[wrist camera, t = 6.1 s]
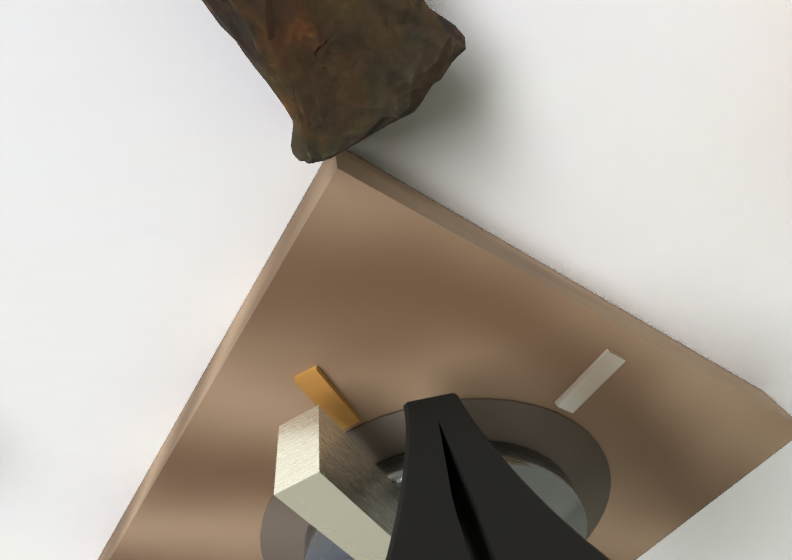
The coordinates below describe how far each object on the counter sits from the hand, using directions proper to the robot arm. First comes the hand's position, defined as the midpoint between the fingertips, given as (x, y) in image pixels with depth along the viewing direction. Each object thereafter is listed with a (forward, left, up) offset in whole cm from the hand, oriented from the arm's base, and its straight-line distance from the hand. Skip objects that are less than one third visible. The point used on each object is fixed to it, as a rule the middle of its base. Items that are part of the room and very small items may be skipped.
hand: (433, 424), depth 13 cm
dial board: (-6, -5, -4) cm, 8 cm away
